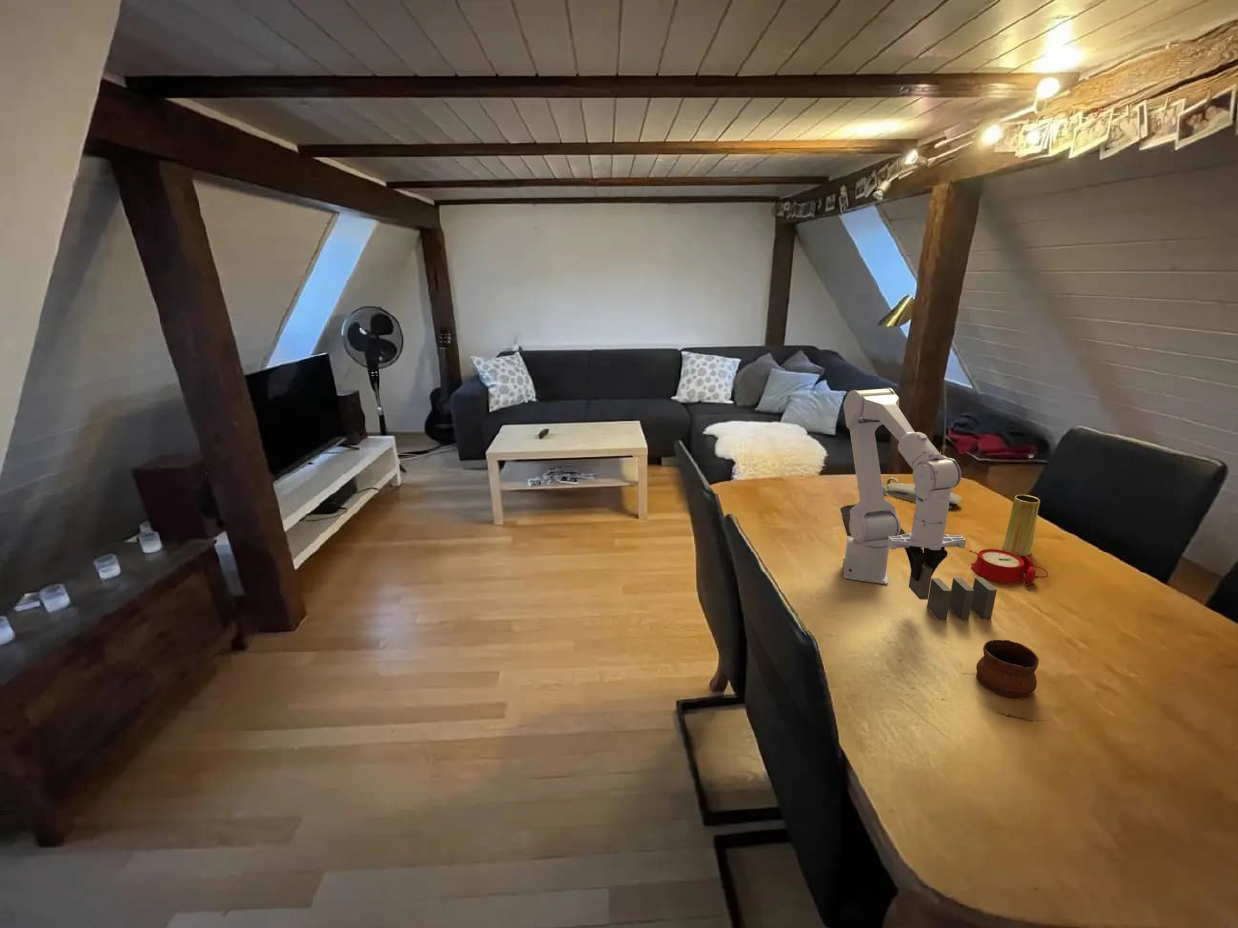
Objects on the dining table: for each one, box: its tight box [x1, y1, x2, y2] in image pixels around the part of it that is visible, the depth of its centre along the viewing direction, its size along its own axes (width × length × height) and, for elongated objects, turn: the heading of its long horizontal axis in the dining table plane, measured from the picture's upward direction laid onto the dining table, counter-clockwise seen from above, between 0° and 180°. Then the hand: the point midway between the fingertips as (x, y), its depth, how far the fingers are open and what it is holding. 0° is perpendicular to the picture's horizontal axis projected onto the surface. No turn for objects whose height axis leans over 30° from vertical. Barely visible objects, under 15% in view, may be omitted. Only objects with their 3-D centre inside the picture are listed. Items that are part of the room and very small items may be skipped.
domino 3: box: [971, 576, 998, 621], centre depth 119 cm, size 2×5×7 cm, turn 179°
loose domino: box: [908, 561, 933, 601], centre depth 118 cm, size 2×5×7 cm, turn 179°
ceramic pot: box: [975, 639, 1048, 722], centre depth 99 cm, size 18×18×7 cm
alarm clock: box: [969, 548, 1049, 586], centre depth 134 cm, size 10×6×15 cm
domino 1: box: [926, 577, 952, 621], centre depth 119 cm, size 2×5×7 cm, turn 179°
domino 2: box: [949, 577, 974, 621], centre depth 119 cm, size 2×5×7 cm, turn 179°
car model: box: [882, 476, 963, 510], centre depth 179 cm, size 11×24×5 cm, turn 42°
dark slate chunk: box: [840, 503, 907, 537], centre depth 162 cm, size 15×22×5 cm
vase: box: [1001, 494, 1041, 557], centre depth 143 cm, size 6×6×14 cm
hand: (920, 578), depth 118 cm, fingers closed on loose domino, 1 cm apart
